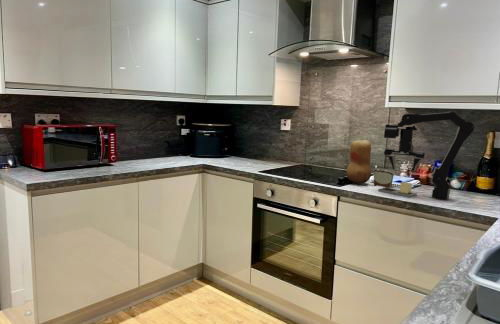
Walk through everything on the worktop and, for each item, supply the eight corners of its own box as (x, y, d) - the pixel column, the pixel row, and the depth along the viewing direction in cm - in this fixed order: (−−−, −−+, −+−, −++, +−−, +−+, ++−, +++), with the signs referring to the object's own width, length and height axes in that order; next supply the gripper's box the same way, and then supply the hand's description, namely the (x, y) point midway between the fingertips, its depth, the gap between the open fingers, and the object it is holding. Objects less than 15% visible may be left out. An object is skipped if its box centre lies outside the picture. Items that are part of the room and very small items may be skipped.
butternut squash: (340, 182, 213) (344, 138, 209) (354, 180, 221) (358, 138, 218) (361, 187, 202) (365, 141, 199) (375, 184, 211) (379, 140, 207)
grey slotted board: (416, 197, 183) (416, 193, 182) (409, 199, 177) (409, 195, 177) (385, 191, 194) (385, 187, 194) (377, 193, 188) (378, 189, 188)
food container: (397, 189, 202) (399, 170, 201) (392, 190, 198) (394, 171, 197) (377, 184, 211) (378, 167, 210) (371, 185, 207) (373, 168, 206)
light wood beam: (410, 195, 182) (412, 183, 182) (407, 196, 180) (408, 184, 179) (402, 193, 185) (404, 182, 184) (399, 194, 183) (400, 182, 182)
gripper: (429, 139, 184) (426, 171, 186) (391, 137, 194) (388, 166, 196) (425, 140, 175) (422, 173, 177) (384, 138, 185) (382, 169, 187)
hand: (403, 170), depth 185 cm, fingers open, 9 cm apart
